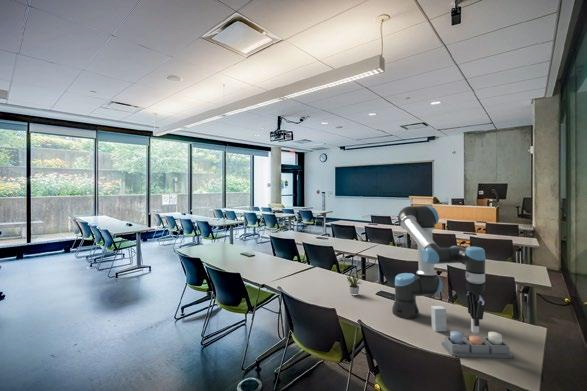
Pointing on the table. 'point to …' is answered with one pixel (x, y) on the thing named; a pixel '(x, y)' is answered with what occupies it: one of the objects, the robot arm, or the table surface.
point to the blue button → (456, 337)
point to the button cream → (495, 338)
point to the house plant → (354, 287)
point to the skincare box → (438, 318)
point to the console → (477, 349)
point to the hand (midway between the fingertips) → (475, 331)
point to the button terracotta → (475, 340)
